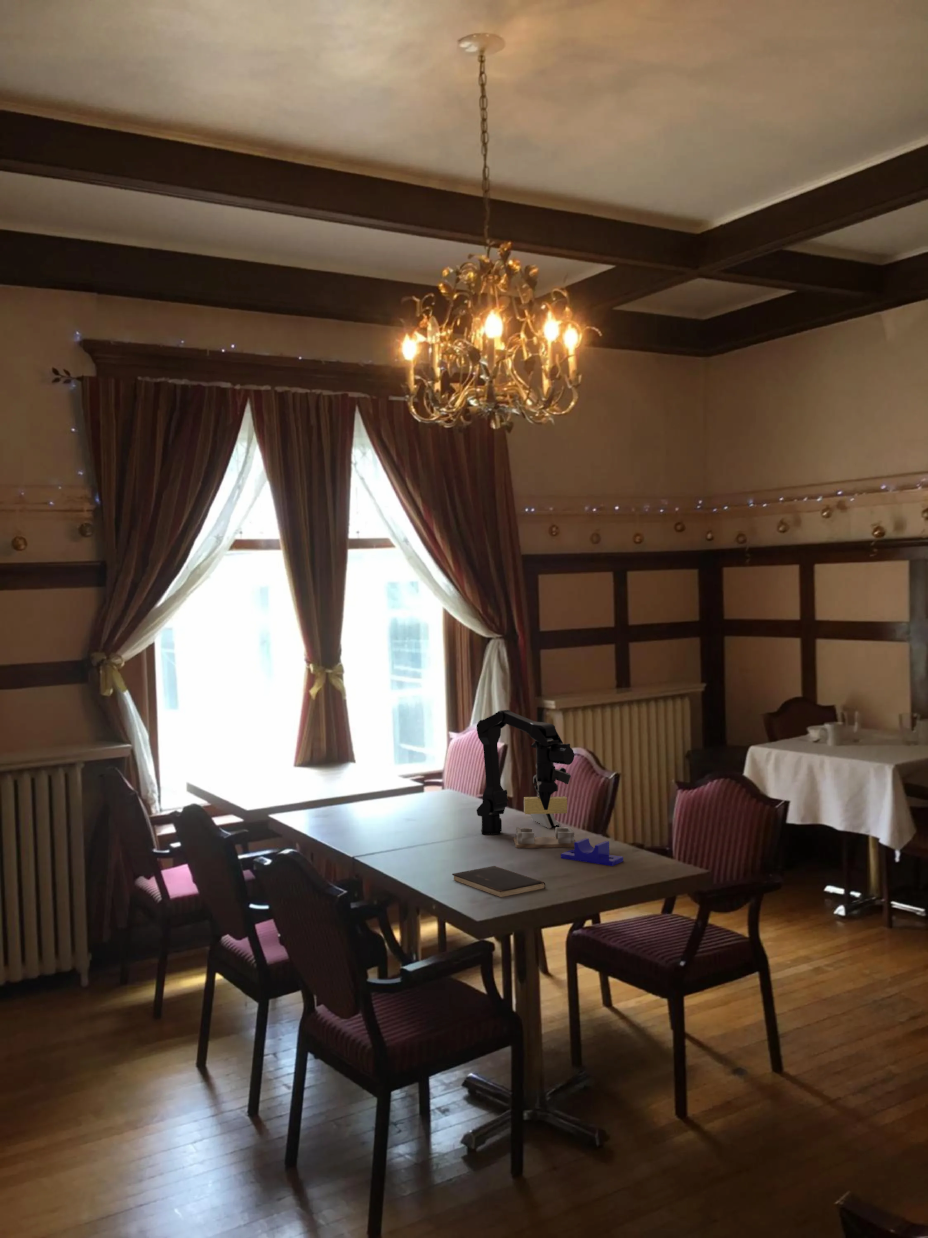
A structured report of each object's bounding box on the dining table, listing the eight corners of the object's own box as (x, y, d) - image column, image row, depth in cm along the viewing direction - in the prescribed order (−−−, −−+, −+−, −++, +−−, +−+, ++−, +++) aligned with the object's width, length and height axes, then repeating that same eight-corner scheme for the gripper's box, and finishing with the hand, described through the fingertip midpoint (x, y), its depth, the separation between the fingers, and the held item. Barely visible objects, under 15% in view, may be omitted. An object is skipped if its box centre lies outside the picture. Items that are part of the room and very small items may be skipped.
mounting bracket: (623, 862, 336) (623, 843, 336) (612, 867, 330) (612, 847, 330) (572, 855, 346) (572, 836, 346) (560, 859, 341) (560, 840, 340)
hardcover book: (500, 899, 296) (500, 891, 296) (452, 881, 315) (452, 873, 315) (545, 889, 305) (545, 881, 305) (496, 873, 324) (495, 865, 324)
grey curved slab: (561, 827, 386) (552, 801, 385) (550, 833, 385) (540, 807, 384) (544, 818, 402) (535, 793, 401) (533, 823, 401) (524, 798, 400)
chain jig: (516, 848, 355) (516, 834, 355) (513, 840, 366) (513, 827, 366) (577, 847, 356) (577, 833, 355) (572, 839, 366) (572, 826, 366)
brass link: (524, 814, 359) (524, 799, 359) (524, 812, 362) (523, 797, 362) (567, 813, 359) (567, 798, 359) (565, 811, 363) (565, 796, 363)
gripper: (573, 765, 352) (573, 813, 352) (565, 757, 370) (565, 803, 370) (538, 766, 351) (539, 814, 351) (532, 758, 370) (532, 803, 370)
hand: (545, 808), depth 361 cm, fingers closed on brass link, 3 cm apart
